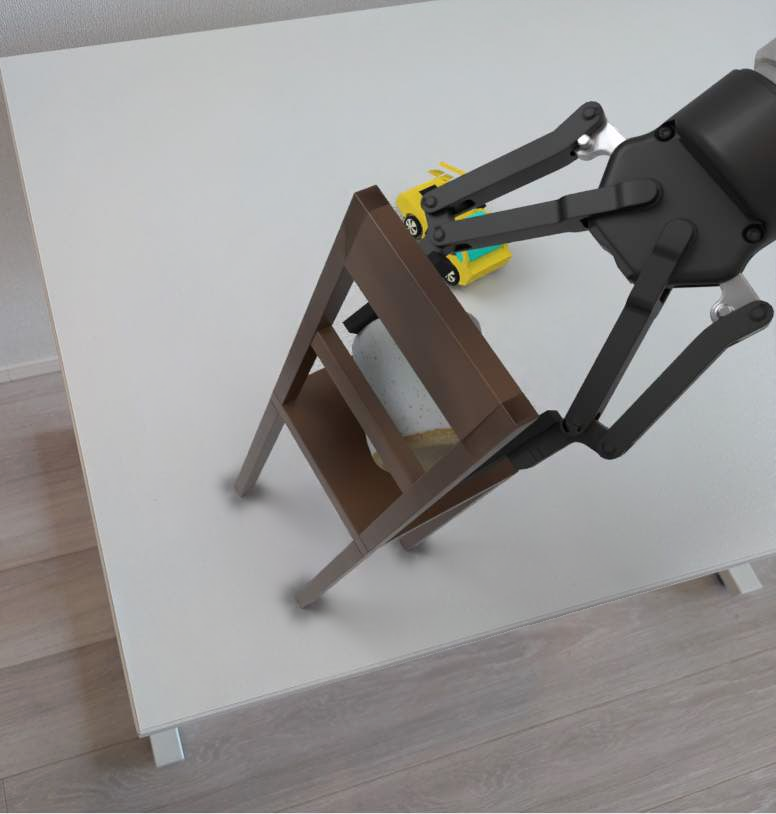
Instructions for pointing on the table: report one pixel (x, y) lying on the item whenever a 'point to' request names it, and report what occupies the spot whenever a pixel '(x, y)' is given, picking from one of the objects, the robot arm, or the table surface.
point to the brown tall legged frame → (362, 410)
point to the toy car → (466, 262)
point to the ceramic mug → (402, 395)
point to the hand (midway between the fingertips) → (402, 402)
